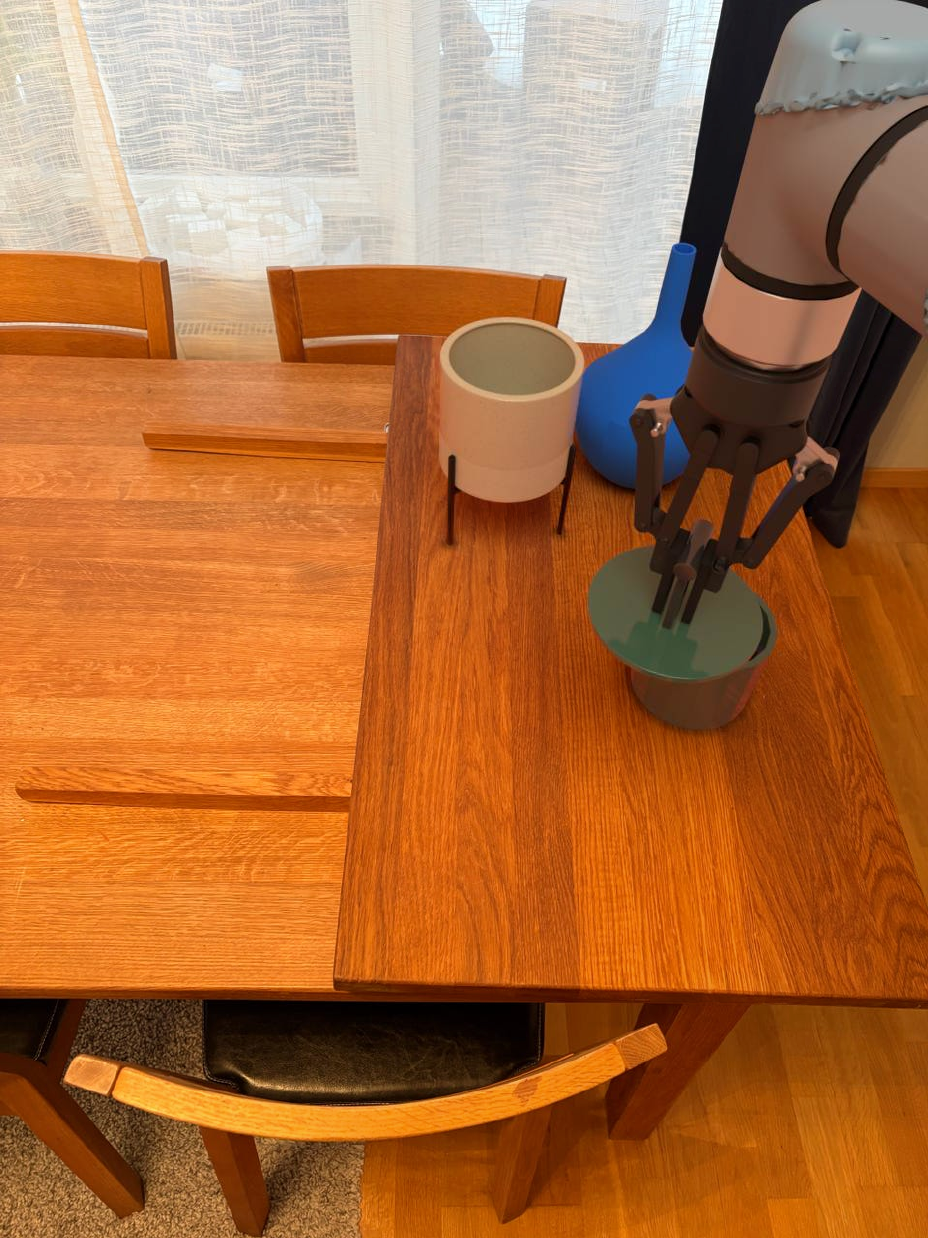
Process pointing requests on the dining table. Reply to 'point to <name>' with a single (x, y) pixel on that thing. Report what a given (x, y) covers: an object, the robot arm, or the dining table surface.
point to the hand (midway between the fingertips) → (675, 604)
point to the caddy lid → (674, 616)
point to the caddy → (707, 688)
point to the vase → (638, 384)
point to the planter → (508, 411)
